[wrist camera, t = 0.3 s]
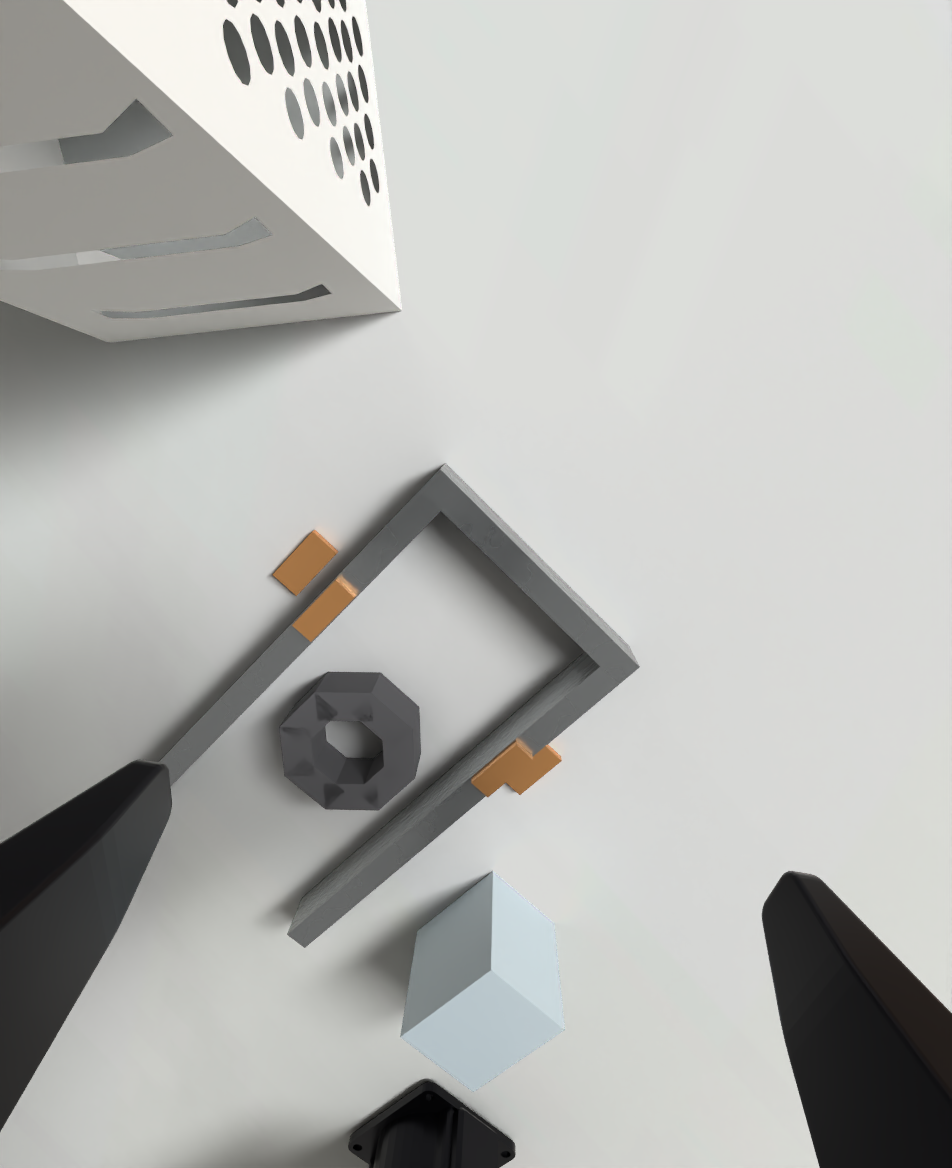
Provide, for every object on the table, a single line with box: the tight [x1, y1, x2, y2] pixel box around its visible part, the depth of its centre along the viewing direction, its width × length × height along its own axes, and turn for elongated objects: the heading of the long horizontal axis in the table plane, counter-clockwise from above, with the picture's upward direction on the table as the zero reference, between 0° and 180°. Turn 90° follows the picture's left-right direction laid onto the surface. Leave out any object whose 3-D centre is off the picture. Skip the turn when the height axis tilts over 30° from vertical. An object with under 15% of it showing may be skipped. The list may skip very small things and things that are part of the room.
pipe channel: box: [159, 463, 640, 948], centre depth 24 cm, size 19×14×2 cm
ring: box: [279, 672, 421, 810], centre depth 24 cm, size 5×5×2 cm
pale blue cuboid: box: [400, 871, 565, 1092], centre depth 26 cm, size 5×4×5 cm
